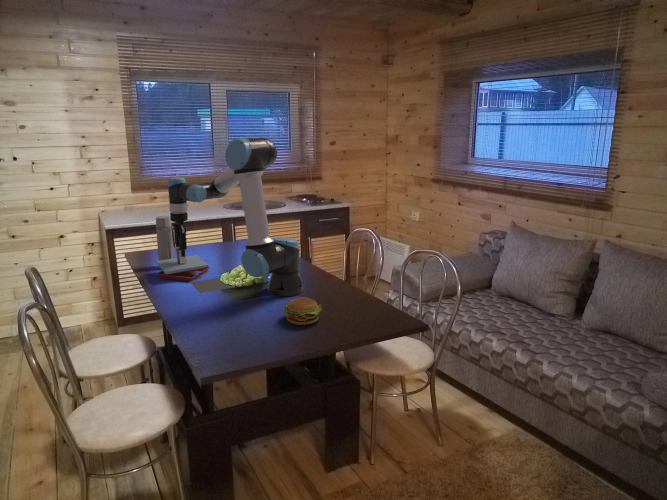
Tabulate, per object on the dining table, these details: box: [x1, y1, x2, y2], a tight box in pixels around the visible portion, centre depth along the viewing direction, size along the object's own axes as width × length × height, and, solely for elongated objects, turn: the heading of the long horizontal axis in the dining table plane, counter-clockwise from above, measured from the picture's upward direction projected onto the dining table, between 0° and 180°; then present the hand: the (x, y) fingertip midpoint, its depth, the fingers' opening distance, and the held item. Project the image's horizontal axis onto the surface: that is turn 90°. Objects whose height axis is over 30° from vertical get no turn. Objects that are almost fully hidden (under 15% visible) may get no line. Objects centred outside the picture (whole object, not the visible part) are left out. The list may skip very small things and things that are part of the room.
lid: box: [156, 247, 209, 274], centre depth 233 cm, size 19×19×8 cm
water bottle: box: [155, 215, 176, 268], centre depth 244 cm, size 9×8×25 cm
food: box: [282, 296, 324, 326], centre depth 185 cm, size 14×14×8 cm
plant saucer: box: [156, 266, 211, 282], centre depth 234 cm, size 18×18×3 cm
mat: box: [189, 277, 236, 294], centre depth 222 cm, size 16×16×1 cm
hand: (181, 261), depth 233 cm, fingers closed on lid, 4 cm apart
